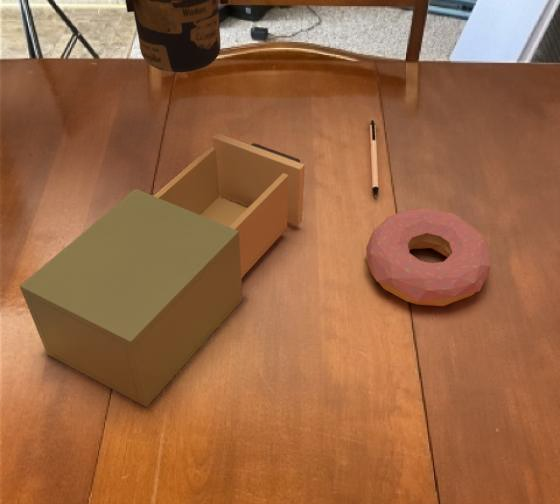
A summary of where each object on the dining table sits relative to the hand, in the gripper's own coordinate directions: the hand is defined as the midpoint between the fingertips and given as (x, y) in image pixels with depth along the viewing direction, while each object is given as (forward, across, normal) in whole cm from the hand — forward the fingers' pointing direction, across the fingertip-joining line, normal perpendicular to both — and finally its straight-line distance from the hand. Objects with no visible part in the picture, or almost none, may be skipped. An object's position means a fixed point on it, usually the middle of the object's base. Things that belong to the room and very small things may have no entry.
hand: (178, 2), depth 73 cm
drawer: (+24, -4, -13) cm, 27 cm away
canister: (+3, 0, -8) cm, 9 cm away
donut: (+32, -26, -6) cm, 42 cm away
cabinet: (+34, +9, -4) cm, 35 cm away
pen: (+15, -27, -23) cm, 39 cm away
